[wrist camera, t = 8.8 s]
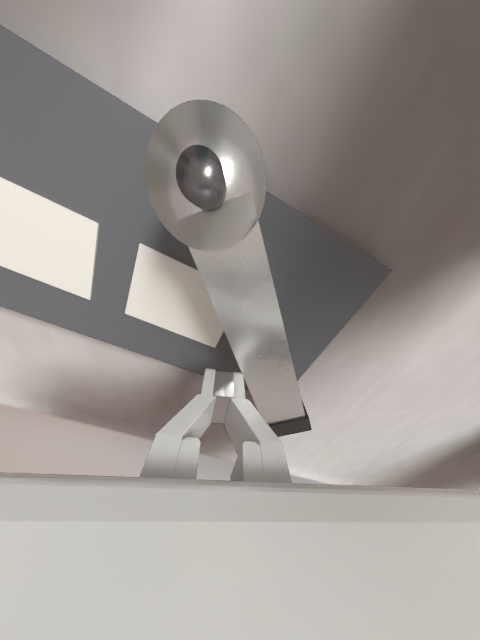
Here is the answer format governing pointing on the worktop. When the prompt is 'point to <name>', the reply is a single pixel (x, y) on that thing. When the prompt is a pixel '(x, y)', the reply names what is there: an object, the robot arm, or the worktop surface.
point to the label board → (137, 231)
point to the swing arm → (227, 243)
